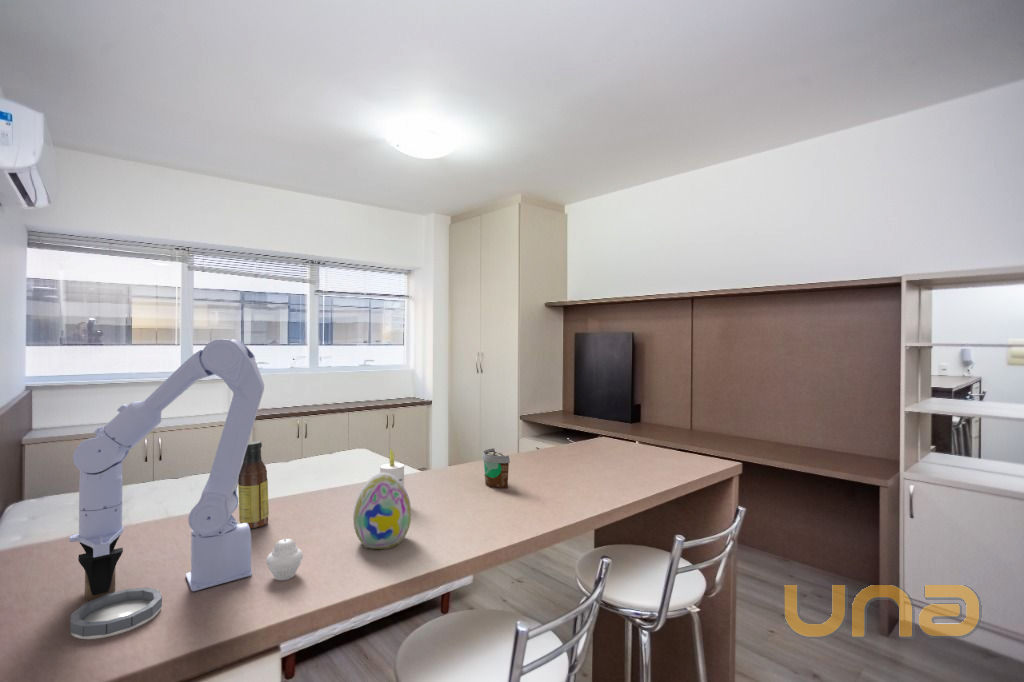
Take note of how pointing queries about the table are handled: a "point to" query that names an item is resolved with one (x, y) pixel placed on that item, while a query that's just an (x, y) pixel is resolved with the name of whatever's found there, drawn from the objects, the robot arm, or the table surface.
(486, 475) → the food container
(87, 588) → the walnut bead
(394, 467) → the candle
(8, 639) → the table surface
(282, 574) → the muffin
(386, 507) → the decorative egg
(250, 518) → the sauce bottle
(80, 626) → the ring dish
